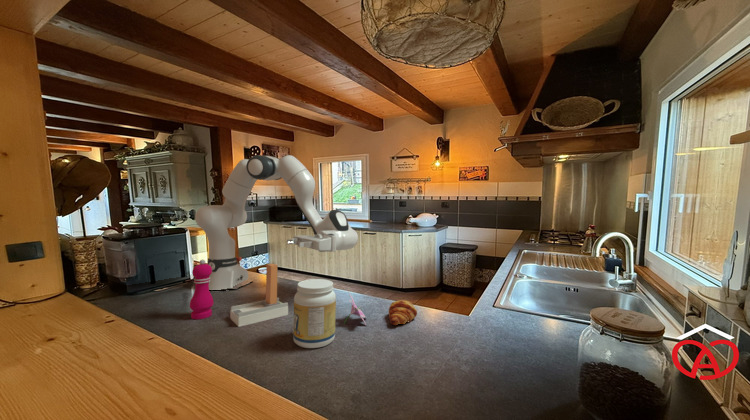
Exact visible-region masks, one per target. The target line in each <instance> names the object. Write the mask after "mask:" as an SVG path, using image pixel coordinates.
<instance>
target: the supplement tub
mask: <svg viewBox="0 0 750 420" xmlns="http://www.w3.org/2000/svg"><path fill="white" fill-rule="evenodd" d="M296 290H297V291H296V293H295V294H294V297H293V334H292V337H293V342H294V343H295V345H297V346H298V347H300V348H305V349H317V348H322V347H325V346H328V345H330V344H331V343H332V342H333V341H334V340H335V337H336V314H337V313H336V311H337V310H336V309H337V307H336V306H337V301H336V300H337V294H336V293H335V291H334V282H333V281H332V280H329V279H324V278H311V279H305V280H302V281H299V282H298V283H297V288H296Z"/></svg>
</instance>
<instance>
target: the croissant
mask: <svg viewBox="0 0 750 420" xmlns="http://www.w3.org/2000/svg"><path fill="white" fill-rule="evenodd" d="M417 315H418V310H417V308H416V307H415V306H414V305H413V303H412V302H411V301H409V300H406V299H400V300H399V299H398V300H396V301H392V302H391V303H390V305H389V308H388V317H389V318H388V319H389V322H390V324H392V325H393V326H399V325H398V324H404V325H406V324H407V323H406V322H408V321H410V322H412V321H413V320H414V319H415V318H416V317H417ZM405 323H406V324H405ZM408 323H409V322H408Z"/></svg>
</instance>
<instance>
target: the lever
mask: <svg viewBox="0 0 750 420" xmlns="http://www.w3.org/2000/svg"><path fill="white" fill-rule="evenodd" d="M265 272H266V274H265V275H266V277H265V278H266V279H265V281H266V284H265V289H266V290H265V300H266V301H263V305H265V306H266V307H268V306H273V305H277V304H280V303H279V302H277V297H278V264H276V263H266V271H265Z"/></svg>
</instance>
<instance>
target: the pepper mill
mask: <svg viewBox="0 0 750 420" xmlns="http://www.w3.org/2000/svg"><path fill="white" fill-rule="evenodd" d="M191 273H192V276H193V277H194V278H193V280H194V281H193V283H194V285H195V286H194V287H195V289H194V293H193V294H192V297H191V299H190V301H189V309H190V310H191V312H190V313H191V314H190V318H191V319H192V320H204V319H208V318H210V317H212V316H213V310H212V307H213V306H214V303H215V302H214V298H213V296H212V294H211V291H209V282H210V277H209V276H210V275H211V273H212V268H211V266H210V265H208V263H206V260H205V259H201V260H199V264H197V265H195V266H194V267H193V268H192V271H191Z"/></svg>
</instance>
